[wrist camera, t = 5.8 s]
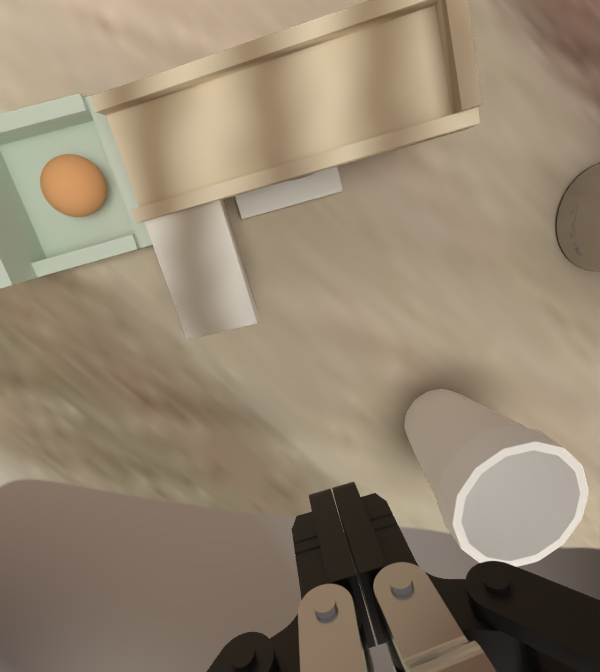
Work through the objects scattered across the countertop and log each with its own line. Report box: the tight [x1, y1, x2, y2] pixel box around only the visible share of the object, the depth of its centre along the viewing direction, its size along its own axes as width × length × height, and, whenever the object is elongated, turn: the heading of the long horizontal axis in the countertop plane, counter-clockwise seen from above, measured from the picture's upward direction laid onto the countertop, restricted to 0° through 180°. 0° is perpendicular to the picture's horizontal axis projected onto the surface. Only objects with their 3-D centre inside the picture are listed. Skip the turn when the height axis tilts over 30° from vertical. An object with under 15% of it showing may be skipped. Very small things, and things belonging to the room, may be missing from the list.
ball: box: [40, 154, 107, 217], centre depth 30 cm, size 4×4×4 cm
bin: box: [0, 93, 153, 288], centre depth 29 cm, size 9×10×7 cm
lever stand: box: [235, 167, 343, 219], centre depth 31 cm, size 8×10×6 cm
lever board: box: [90, 0, 482, 340], centre depth 27 cm, size 20×15×5 cm
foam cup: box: [404, 388, 589, 567], centre depth 35 cm, size 10×9×13 cm
